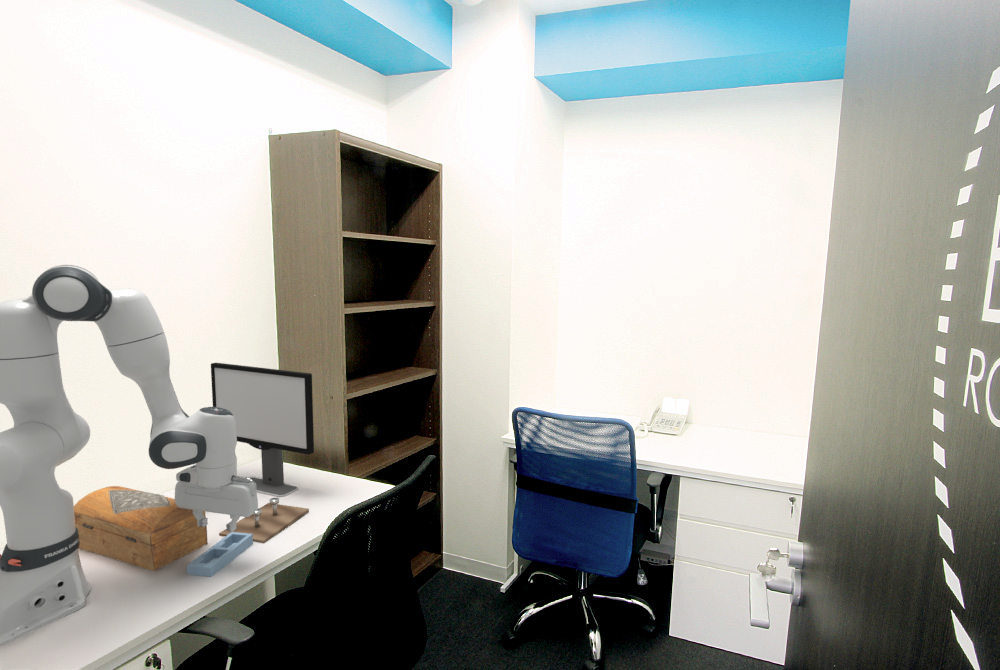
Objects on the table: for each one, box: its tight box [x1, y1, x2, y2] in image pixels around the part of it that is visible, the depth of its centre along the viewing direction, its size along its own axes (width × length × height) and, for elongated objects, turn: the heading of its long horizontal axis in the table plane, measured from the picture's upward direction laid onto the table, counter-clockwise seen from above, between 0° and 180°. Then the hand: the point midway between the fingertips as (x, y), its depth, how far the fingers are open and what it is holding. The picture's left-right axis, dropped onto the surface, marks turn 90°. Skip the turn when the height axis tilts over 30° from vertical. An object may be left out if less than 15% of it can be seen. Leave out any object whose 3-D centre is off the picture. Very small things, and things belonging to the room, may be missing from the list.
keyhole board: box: [218, 502, 310, 544], centre depth 155 cm, size 20×14×1 cm
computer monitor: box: [210, 362, 315, 498], centre depth 178 cm, size 41×8×40 cm, turn 67°
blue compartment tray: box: [186, 532, 254, 578], centre depth 135 cm, size 6×16×3 cm, turn 171°
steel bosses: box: [252, 497, 280, 527], centre depth 154 cm, size 10×3×5 cm, turn 165°
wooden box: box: [74, 485, 209, 572], centre depth 140 cm, size 30×16×14 cm, turn 68°
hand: (216, 528), depth 134 cm, fingers open, 6 cm apart
